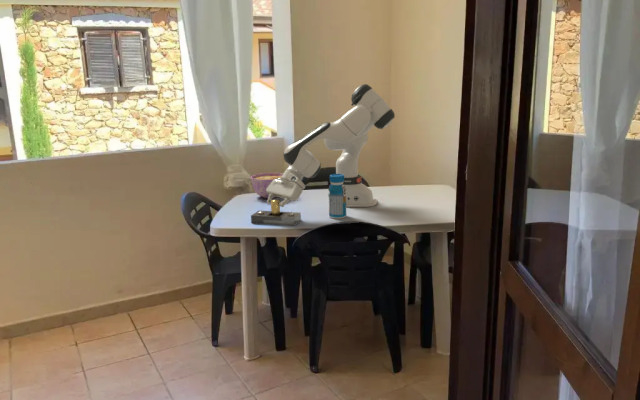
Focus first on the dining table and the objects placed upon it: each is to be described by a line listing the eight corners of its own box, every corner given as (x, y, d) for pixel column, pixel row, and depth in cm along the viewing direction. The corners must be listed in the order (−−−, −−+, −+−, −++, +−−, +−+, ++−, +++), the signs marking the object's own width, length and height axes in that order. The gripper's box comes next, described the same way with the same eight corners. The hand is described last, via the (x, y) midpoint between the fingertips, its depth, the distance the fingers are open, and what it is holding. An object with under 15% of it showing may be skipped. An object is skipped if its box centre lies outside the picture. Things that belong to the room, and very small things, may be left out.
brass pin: (280, 220, 242) (279, 199, 240) (280, 222, 239) (279, 201, 236) (271, 220, 242) (270, 199, 240) (271, 222, 238) (270, 201, 236)
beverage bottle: (333, 220, 240) (332, 177, 235) (326, 215, 247) (324, 174, 242) (349, 217, 243) (349, 175, 238) (341, 213, 250) (341, 172, 246)
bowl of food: (294, 194, 292) (293, 174, 290) (273, 202, 276) (272, 181, 273) (266, 191, 303) (265, 171, 300) (244, 198, 287) (242, 178, 284)
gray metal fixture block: (300, 219, 242) (300, 211, 241) (294, 225, 233) (294, 216, 232) (259, 217, 248) (258, 209, 247) (251, 222, 239) (250, 214, 238)
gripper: (272, 173, 248) (257, 197, 244) (300, 179, 233) (284, 204, 229) (280, 181, 252) (265, 204, 248) (308, 187, 237) (292, 212, 233)
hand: (274, 204), depth 238 cm, fingers open, 8 cm apart
